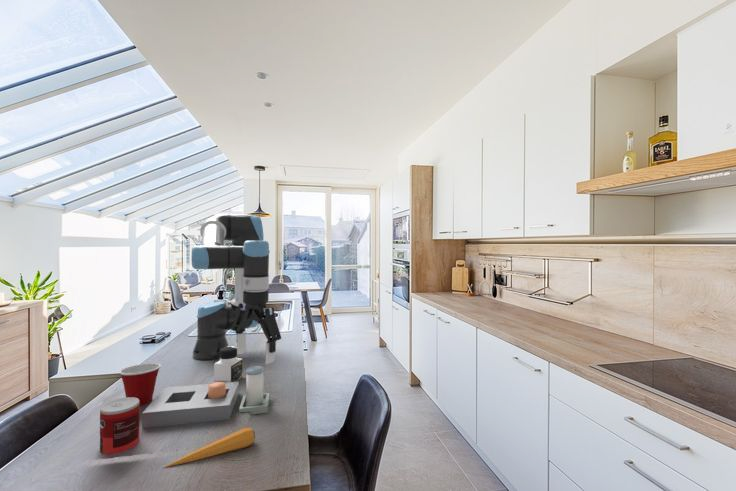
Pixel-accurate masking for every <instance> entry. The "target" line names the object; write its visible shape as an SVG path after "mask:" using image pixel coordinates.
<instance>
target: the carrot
mask: <svg viewBox="0 0 736 491" xmlns="http://www.w3.org/2000/svg"><path fill="white" fill-rule="evenodd" d="M255 439H256V435H255V430H253V428H252V427H244V428H241V429H239V430H238V431H235V432H233V433H231V434H228V435H226V436H224V437H222V438H220V439H218V440H216V441H214V442H211V443H209V444H208V445H205V446H203V447H200V448H199V449H196V450H194V451H192V452H190V453H188V454H186V455H185V456H182V457H181V458H178V459H177V460H175V461H173V462H171V463H169V464H167V465H165V466H163V469H164V468H168V467H173V466H178V465H182V464H186V463H191V462H195V461H199V460H202V459H203V460H204V459H206V458H210V457H215V456H218V455H222V454H225V453H229V452H233V451H236V450H241V449H245V448H248V447H251V446H252V445H253V444H254V442H255Z"/></svg>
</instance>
